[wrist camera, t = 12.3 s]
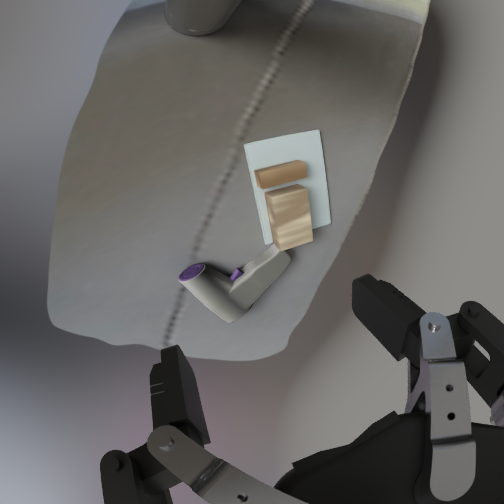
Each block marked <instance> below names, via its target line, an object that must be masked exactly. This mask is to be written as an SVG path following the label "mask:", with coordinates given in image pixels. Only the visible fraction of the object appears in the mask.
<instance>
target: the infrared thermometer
mask: <svg viewBox="0 0 504 504" xmlns="http://www.w3.org/2000/svg"><path fill="white" fill-rule="evenodd" d="M291 260H292V258H291V257H290V255H289V254H288V253H287V252H286V251H285V250H283V251H280V250H279V249H278V248H277V246H276V245H275V244H274V243H273V245H272V246H271V247H270V248H269V249H267V250H266V251H265V252H263V253H262V254H260V255H259V256H257V257H255V258H254V259H252V260H251V261H250V262H248V263H247V264H246V265H245V266H244V267H243V268H242V269H240V268H236V269H235V271H234V273H233V275H232V276H231V277H227V276H225V275H224V274H222V273H220V272H218V271H216V270H214V269H212V268H210V267H208V266H207V265H205V264H195V265H192V266H190V267H188V268H187V269H185V270H184V271H183V272H182V273H181V274H180V276H179V281H180V282H181V283H182V284H183V285H184V286H185V287H186V288H187V289H188V290H189V291H190V292H192V293H193V294H194V295H195V296H196V297H197V298H198V299H199V300H200V301H201V302H202V303H203V304H204V305H205V306H206V307H208V308H209V309H210V310H211V311H213V312H214V313H215V314H217V315H218V316H219V317H221V318H222V319H224V320H225V321H226V322H228V323H233V322H235V321H236V320H238V319H239V318H241V317H242V316H243V315H244V314H245V313H247V311H248V310H249V309H250V308H251V307H252V305H253V303H254V302H255V301H256V300H257V299H258V298H259V296H260V295H261V294H262V293H263V292H264V291H265V290H266V288H267V287H268V286H270V285H271V284H272V283H273V282H274V281H275V280H276V279H277V278H278V277H279V276H280V275H281V274H282V272H283V271H284V270H285V269H286V268H287V266H288V265H289V263H290V262H291Z"/></svg>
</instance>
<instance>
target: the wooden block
mask: <svg viewBox="0 0 504 504" xmlns="http://www.w3.org/2000/svg"><path fill="white" fill-rule="evenodd" d="M264 194H265V200H266V205H267V211H268V216H269V222H270V227H271V233H272V238H273V243H274V244H275V245H276V246H277V248H278V249H279V250H280V251H283V250H286V249H290V248H293V247H296V246H299V245H302V244H305V243H308V242H311V241H313V234H312V224H311V215H310V207H309V198H308V190H307V188H305V187H303V186H301V185H299V184H295V185H291V186H287V187H283V188H279V189H276V190H272V191H268V192H264Z"/></svg>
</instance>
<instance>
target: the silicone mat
mask: <svg viewBox="0 0 504 504" xmlns="http://www.w3.org/2000/svg"><path fill="white" fill-rule="evenodd" d="M244 148H245V153H246V157H247V162H248V167H249V171H250V176H251V180H252V185H253V190H254V194H255V199H256V204H257V208H258V213H259V218H260V223H261V227H262V232H263V237H264V242H265V244H266V245H267V244H270V243H273V238H272V233H271V227H270V222H269V216H268V211H267V205H266V200H265V194H264V192H268V191H272V190H276V189H279V188H283V187H287V186H291V185H295V184H299V185H301V186H303V187H305V188H307V190H308V198H309V207H310V215H311V224H312V229H315V228H318V227H321V226H324V225H327V224H330V223H331V220H330V209H329V199H328V190H327V182H326V173H325V166H324V158H323V151H322V145H321V138H320V132H319V130H312V131H306V132H300V133H295V134H289V135H284V136H279V137H274V138H269V139H264V140H260V141H255V142H251V143H247V144H244ZM294 160H300V161H304V162H305V165H306V171H307V178H304V179H300V180H296V181H292V182H288V183H285V184H281V185H277V186H273V187H270V188H266V189H261V188H259V187H258V186H257V183H256V178H255V173H254V170H257V169H261V168H265V167H269V166H273V165H277V164H282V163H286V162H290V161H294Z"/></svg>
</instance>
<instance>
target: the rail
mask: <svg viewBox="0 0 504 504" xmlns="http://www.w3.org/2000/svg"><path fill="white" fill-rule="evenodd" d="M254 173H255V178H256V183H257V186H258V187H259V188H261V189H266V188H270V187H273V186H277V185H281V184H285V183H288V182H292V181H296V180H300V179H304V178H307V171H306V165H305V162H304V161H300V160H294V161H290V162H286V163H282V164H277V165H273V166H269V167H265V168H261V169H257V170H254Z"/></svg>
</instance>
